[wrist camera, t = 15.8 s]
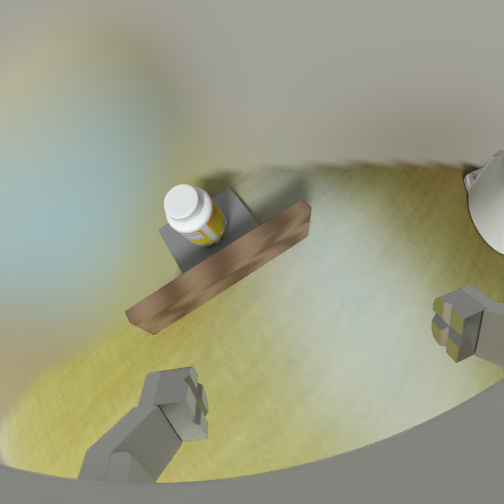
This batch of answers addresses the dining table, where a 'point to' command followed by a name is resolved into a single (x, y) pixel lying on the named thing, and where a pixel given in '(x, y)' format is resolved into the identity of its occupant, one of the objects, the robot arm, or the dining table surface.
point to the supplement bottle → (195, 215)
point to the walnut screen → (221, 270)
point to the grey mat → (236, 228)
